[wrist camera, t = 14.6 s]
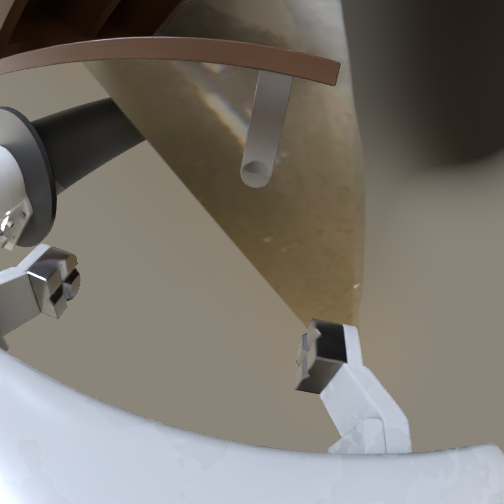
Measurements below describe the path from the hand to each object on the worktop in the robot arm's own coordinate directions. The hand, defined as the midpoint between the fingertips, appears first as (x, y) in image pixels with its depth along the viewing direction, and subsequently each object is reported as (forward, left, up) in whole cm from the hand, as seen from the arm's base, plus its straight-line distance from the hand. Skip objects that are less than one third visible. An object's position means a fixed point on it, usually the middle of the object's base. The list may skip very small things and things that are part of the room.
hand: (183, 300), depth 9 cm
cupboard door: (0, +7, -27) cm, 28 cm away
